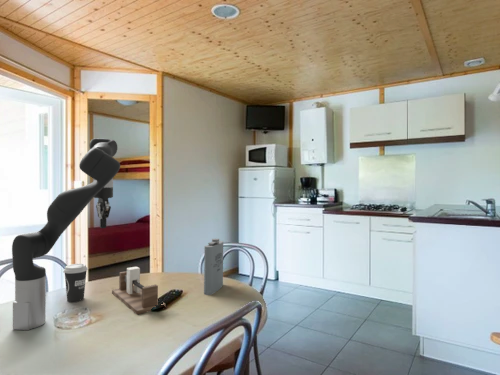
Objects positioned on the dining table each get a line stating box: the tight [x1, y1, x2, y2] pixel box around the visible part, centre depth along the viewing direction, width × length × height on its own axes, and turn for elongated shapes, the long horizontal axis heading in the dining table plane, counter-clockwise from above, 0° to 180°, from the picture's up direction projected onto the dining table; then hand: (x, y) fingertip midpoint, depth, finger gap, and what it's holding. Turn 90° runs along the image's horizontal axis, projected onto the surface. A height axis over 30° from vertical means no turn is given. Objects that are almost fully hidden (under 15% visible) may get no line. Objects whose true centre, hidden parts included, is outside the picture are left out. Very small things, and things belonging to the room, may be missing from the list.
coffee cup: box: [63, 263, 89, 303], centre depth 144 cm, size 10×10×15 cm
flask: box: [203, 238, 224, 296], centre depth 160 cm, size 17×5×25 cm, turn 164°
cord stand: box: [111, 270, 166, 315], centre depth 144 cm, size 32×12×10 cm, turn 39°
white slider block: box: [126, 266, 141, 294], centre depth 148 cm, size 4×5×11 cm
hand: (103, 227), depth 136 cm, fingers closed
